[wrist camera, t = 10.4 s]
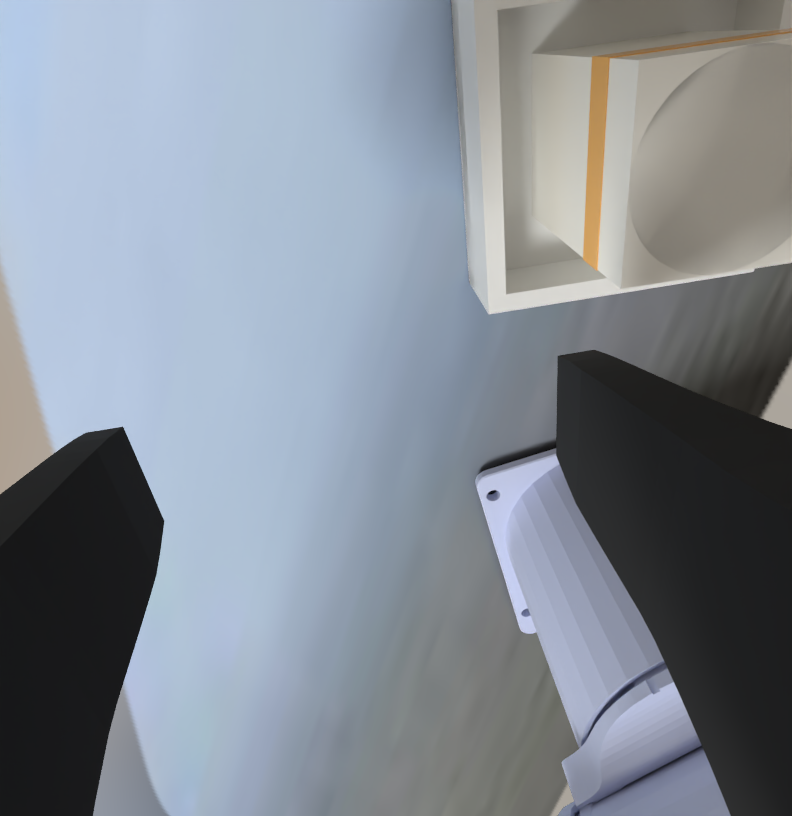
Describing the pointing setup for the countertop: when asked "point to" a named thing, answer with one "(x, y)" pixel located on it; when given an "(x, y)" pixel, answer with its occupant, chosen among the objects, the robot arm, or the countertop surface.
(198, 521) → the countertop surface
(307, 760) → the countertop surface
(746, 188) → the block
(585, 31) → the tray
